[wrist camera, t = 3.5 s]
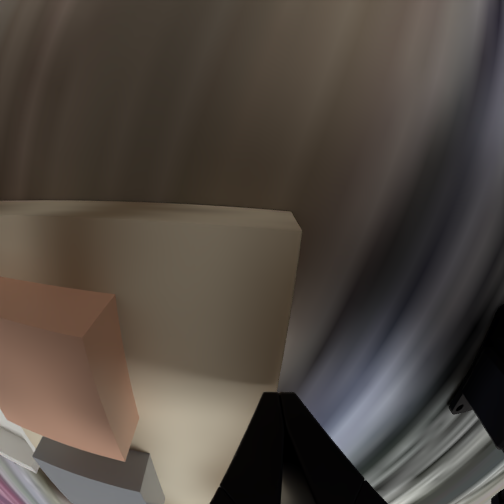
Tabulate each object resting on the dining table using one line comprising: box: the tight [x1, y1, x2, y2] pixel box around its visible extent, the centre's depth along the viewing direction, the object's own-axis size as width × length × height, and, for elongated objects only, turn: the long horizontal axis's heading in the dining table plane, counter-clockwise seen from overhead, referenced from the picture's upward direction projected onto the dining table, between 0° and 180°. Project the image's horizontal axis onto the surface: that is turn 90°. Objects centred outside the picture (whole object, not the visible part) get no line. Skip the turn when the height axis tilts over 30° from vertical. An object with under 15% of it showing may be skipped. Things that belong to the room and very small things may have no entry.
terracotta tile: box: [0, 276, 139, 462], centre depth 7 cm, size 5×5×2 cm
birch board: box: [0, 200, 302, 504], centre depth 10 cm, size 12×16×2 cm
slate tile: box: [32, 436, 165, 504], centre depth 10 cm, size 5×5×2 cm
